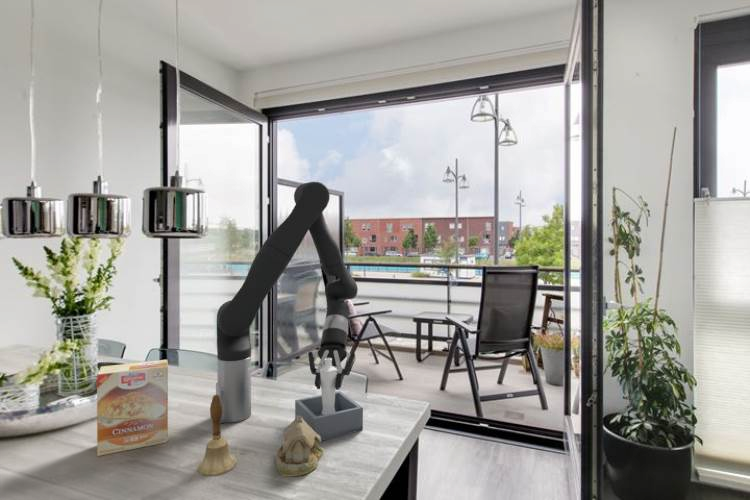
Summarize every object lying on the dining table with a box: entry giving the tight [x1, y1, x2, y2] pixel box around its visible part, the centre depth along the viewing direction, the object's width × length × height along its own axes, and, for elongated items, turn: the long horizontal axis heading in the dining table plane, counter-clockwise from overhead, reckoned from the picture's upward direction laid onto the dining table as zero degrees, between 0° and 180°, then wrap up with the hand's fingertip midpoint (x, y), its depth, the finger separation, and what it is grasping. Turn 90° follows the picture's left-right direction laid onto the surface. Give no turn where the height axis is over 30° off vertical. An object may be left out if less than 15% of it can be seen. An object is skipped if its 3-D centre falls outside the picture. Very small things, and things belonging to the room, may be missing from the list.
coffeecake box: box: [96, 359, 169, 457], centre depth 102 cm, size 15×7×20 cm, turn 117°
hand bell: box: [197, 394, 238, 477], centre depth 93 cm, size 8×8×16 cm
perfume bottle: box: [320, 358, 338, 415], centre depth 113 cm, size 5×4×15 cm
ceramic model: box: [275, 416, 325, 477], centre depth 96 cm, size 14×11×10 cm
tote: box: [294, 390, 364, 442], centre depth 113 cm, size 14×14×6 cm
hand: (327, 387), depth 111 cm, fingers closed on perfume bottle, 4 cm apart
